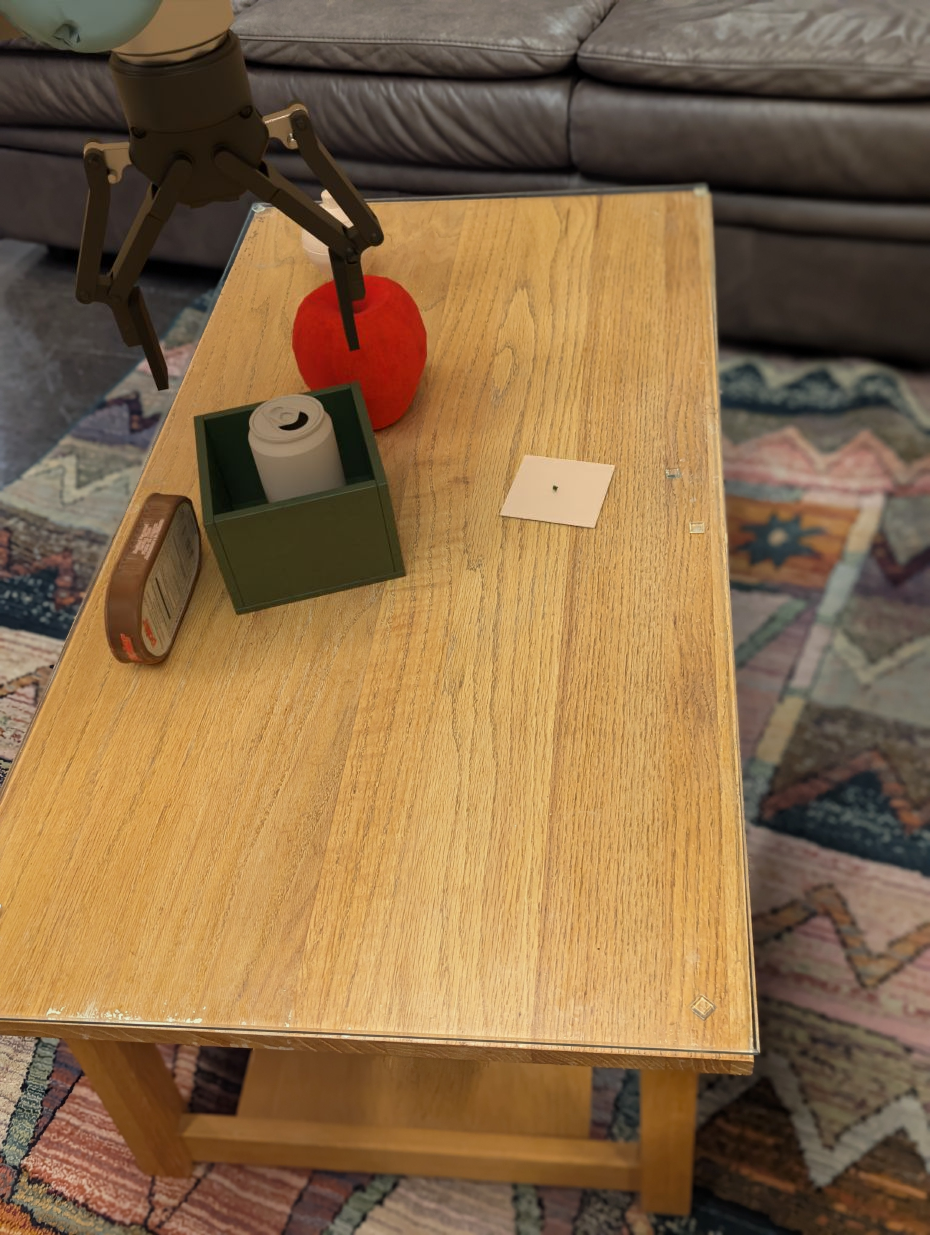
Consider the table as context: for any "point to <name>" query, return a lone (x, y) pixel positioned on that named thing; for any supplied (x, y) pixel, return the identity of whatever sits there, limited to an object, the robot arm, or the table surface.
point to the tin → (153, 580)
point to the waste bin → (296, 511)
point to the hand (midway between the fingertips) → (258, 360)
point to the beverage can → (294, 447)
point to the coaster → (558, 491)
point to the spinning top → (319, 251)
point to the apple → (364, 346)
